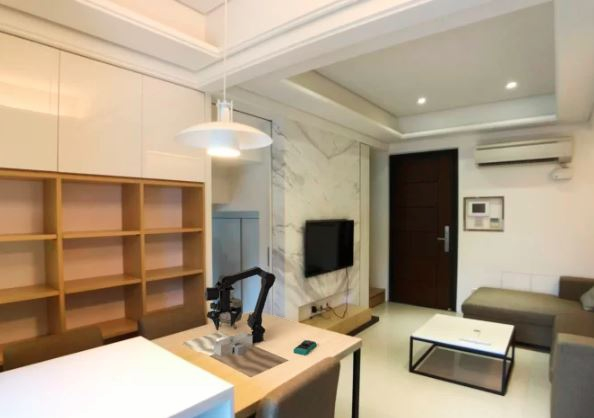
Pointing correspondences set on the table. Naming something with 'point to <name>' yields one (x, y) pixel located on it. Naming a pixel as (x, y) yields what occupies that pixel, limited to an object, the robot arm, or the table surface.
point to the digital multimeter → (305, 347)
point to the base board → (246, 363)
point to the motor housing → (226, 345)
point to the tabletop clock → (227, 317)
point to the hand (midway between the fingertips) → (224, 328)
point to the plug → (237, 350)
